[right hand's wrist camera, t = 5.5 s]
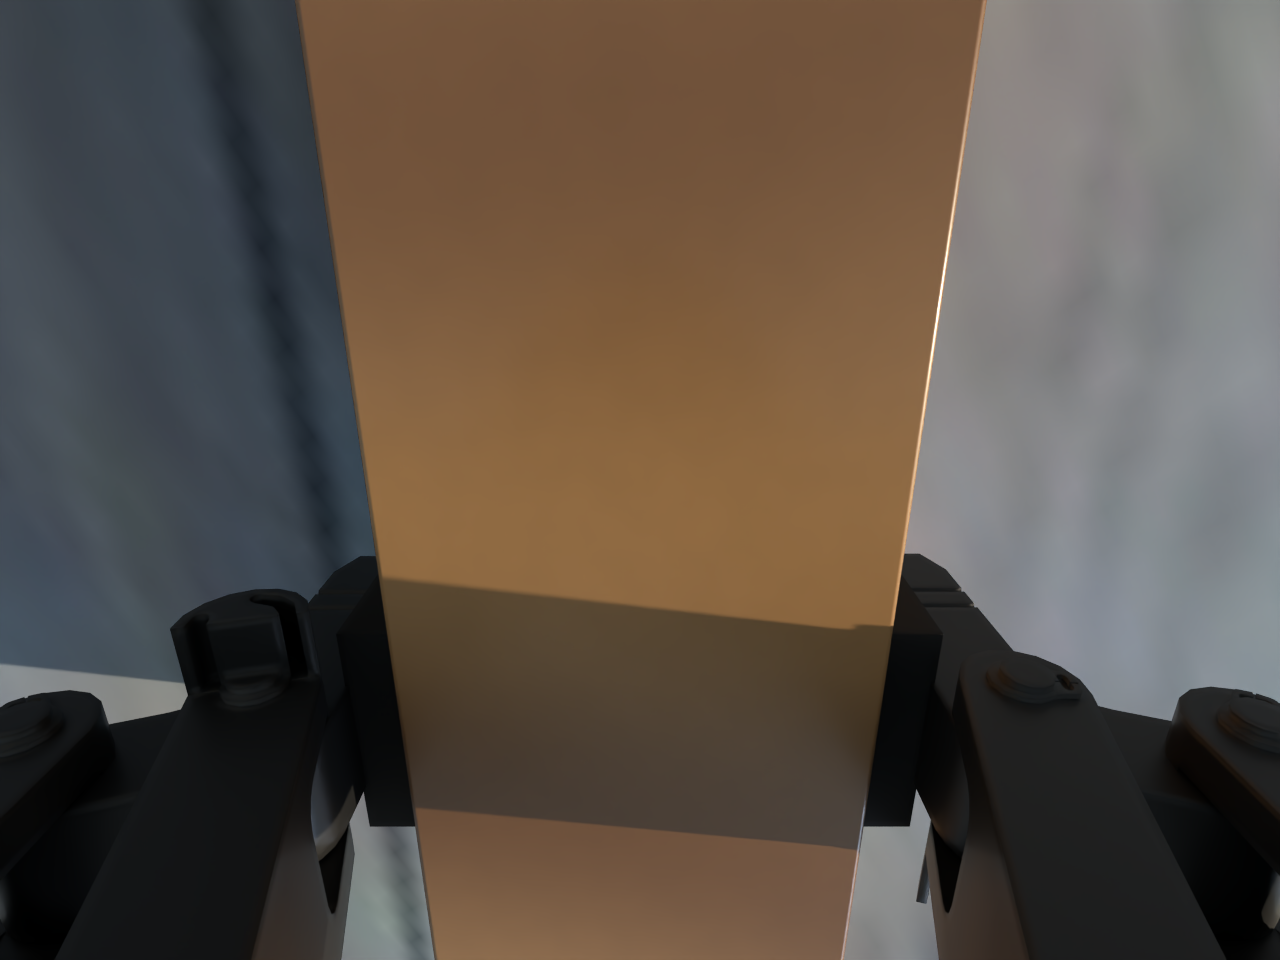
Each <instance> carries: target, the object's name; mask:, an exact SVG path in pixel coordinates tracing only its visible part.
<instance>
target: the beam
mask: <svg viewBox="0 0 1280 960" xmlns="http://www.w3.org/2000/svg"><path fill="white" fill-rule="evenodd" d="M986 2H987V0H295V5H296V11H297V18H298V25H299V32H300V39H301V46H302V53H303V59H304V66H305V73H306V80H307V87H308V94H309V101H310V107H311V114H312V121H313V128H314V135H315V142H316V149H317V155H318V162H319V169H320V176H321V183H322V190H323V197H324V204H325V210H326V217H327V224H328V231H329V238H330V245H331V252H332V258H333V265H334V272H335V279H336V286H337V293H338V300H339V306H340V313H341V320H342V327H343V334H344V341H345V348H346V354H347V361H348V368H349V375H350V382H351V389H352V396H353V402H354V409H355V416H356V423H357V430H358V437H359V444H360V450H361V457H362V464H363V471H364V478H365V485H366V492H367V498H368V505H369V512H370V519H371V526H372V533H373V540H374V547H375V553H376V560H377V567H378V574H379V581H380V588H381V595H382V601H383V608H384V615H385V622H386V629H387V636H388V643H389V649H390V656H391V663H392V670H393V677H394V684H395V691H396V697H397V704H398V711H399V718H400V725H401V732H402V739H403V745H404V752H405V759H406V766H407V773H408V780H409V787H410V793H411V800H412V807H413V814H414V821H415V828H416V835H417V842H418V848H419V855H420V862H421V869H422V876H423V883H424V890H425V896H426V903H427V910H428V917H429V924H430V931H431V938H432V944H433V951H434V958H435V960H844V953H845V946H846V940H847V933H848V926H849V920H850V913H851V906H852V900H853V893H854V886H855V879H856V873H857V866H858V859H859V853H860V846H861V839H862V833H863V826H864V819H865V812H866V806H867V799H868V792H869V786H870V779H871V772H872V766H873V759H874V752H875V746H876V739H877V732H878V725H879V719H880V712H881V705H882V699H883V692H884V685H885V679H886V672H887V665H888V658H889V652H890V645H891V638H892V632H893V625H894V618H895V612H896V605H897V598H898V591H899V585H900V578H901V571H902V565H903V558H904V551H905V545H906V538H907V531H908V524H909V518H910V511H911V504H912V498H913V491H914V484H915V478H916V471H917V464H918V457H919V451H920V444H921V437H922V431H923V424H924V417H925V411H926V404H927V397H928V390H929V384H930V377H931V370H932V364H933V357H934V350H935V344H936V337H937V330H938V323H939V317H940V310H941V303H942V297H943V290H944V283H945V277H946V270H947V263H948V256H949V250H950V243H951V236H952V230H953V223H954V216H955V210H956V203H957V196H958V189H959V183H960V176H961V169H962V163H963V156H964V149H965V143H966V136H967V129H968V122H969V116H970V109H971V102H972V96H973V89H974V82H975V76H976V69H977V62H978V55H979V49H980V42H981V35H982V29H983V22H984V15H985V9H986Z"/></svg>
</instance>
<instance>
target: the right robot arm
mask: <svg viewBox="0 0 1280 960" xmlns="http://www.w3.org/2000/svg"><path fill="white" fill-rule="evenodd" d="M170 631H171V634H172V638H173V642H174V645H175V649H176V653H177V656H178V660H179V664H180V667H181V671H182V675H183V679H184V682H185V686H186V690H187V693H188V697H187V698H186V700H185V702H184V704H183V706H182V708H181V710H177V711H173V712H169V713H165V714H160V715H155V716H150V717H144V718H139V719H134V720H129V721H124V722H119V723H114V724H108V721H107V718H106V714H105V711H104V708H103V705H102V702H101V701H100V700H99V699H98V698H96V697H95V696H94V695H92V694H91V693H87V692H79V691H72V690H67V691H59V692H50V693H40V694H35V695H31V696H28V698H24V697H23V698H20V699H17V700H14V701H11V702H8V703H6V704H5V705H3V706H2V707H0V960H341V957H342V949H343V942H344V934H345V926H346V918H347V910H348V902H349V894H350V887H351V879H352V871H353V863H354V855H355V853H354V846H353V839H352V834H351V828H350V823H349V822H350V819H351V817H352V815H353V813H354V811H355V809H356V807H357V804H358V802H359V800H360V798H361V796H362V794H363V792H364V796H365V801H366V807H367V813H368V818H369V824H370V826H415V821H414V814H413V807H412V800H411V793H410V787H409V780H408V773H407V766H406V759H405V752H404V745H403V739H402V732H401V725H400V718H399V711H398V704H397V697H396V691H395V684H394V677H393V670H392V663H391V656H390V649H389V643H388V636H387V629H386V622H385V615H384V608H383V601H382V595H381V588H380V581H379V574H378V567H377V560H376V556H360V557H358V558H357V559H355V560H353V561H352V562H350V563H348V564H347V565H345V566H343V567H342V568H340V569H338V570H337V571H335V572H334V573H333V574H332V575H331V576H330V578H329V579H328V580H327V581H326V583H325V584H324V585H323V586H322V587H321V589H320V590H319V594H316V595H315V596H314V597H313V598H312V599H311V601H310V602H309V603H308V601H307V600H306V599H305V598H303V597H302V596H301V595H299V594H298V593H296V592H292V591H287V590H282V589H255V590H250V591H245V592H240V593H235V594H229V595H227V596H224V597H221V598H218V599H215V600H213V601H210V602H207V603H204V604H202V605H201V606H199V607H197V608H195V609H194V610H192V611H190V612H188V613H187V614H185V615H183V616H182V617H181V618H180V619H179V620H178V621H177V622H176V623H175V624H174V625H173V626H172V627H171V628H170ZM916 789H917V791H918V793H919V795H920V797H921V800H922V802H923V804H924V806H925V808H926V810H927V812H928V814H929V817H930V819H931V823H930V828H929V833H928V839H927V844H926V849H925V855H924V860H923V865H922V870H921V876H920V881H919V887H918V894H917V901H916V902H921V903H925V904H926V903H927V898H928V893H929V888H930V893H931V900H932V908H933V916H934V924H935V932H936V940H937V948H938V955H939V960H1280V703H1278V702H1277V701H1275V700H1274V699H1271V698H1269V697H1265V696H1262V695H1259V694H1256V695H1254V694H1253V693H1252V692H1248V691H1243V690H1238V689H1226V688H1217V687H1205V688H1198V689H1190V690H1189V691H1188V692H1186V693H1185V694H1184V695H1182V696H1181V697H1180V698H1179V700H1178V703H1177V706H1176V710H1175V713H1174V716H1173V719H1172V721H1168V720H1163V719H1158V718H1152V717H1147V716H1142V715H1137V714H1132V713H1127V712H1122V711H1117V710H1112V709H1108V708H1104V707H1100V706H1098V705H1097V703H1096V701H1095V699H1094V697H1093V695H1092V694H1091V693H1090V691H1089V690H1088V689H1087V688H1086V686H1085V685H1084V684H1083V683H1082V682H1081V680H1080V679H1078V678H1077V677H1075V676H1074V675H1072V674H1071V673H1069V672H1068V671H1066V670H1065V669H1063V668H1062V667H1060V666H1058V665H1056V664H1053V663H1051V662H1049V661H1046V660H1044V659H1042V658H1039V657H1037V656H1033V655H1028V654H1024V653H1020V652H1015V651H1013V650H1012V649H1011V647H1010V646H1009V645H1008V644H1007V643H1006V641H1005V640H1004V639H1003V638H1002V637H1001V635H1000V634H999V633H998V632H997V631H996V629H995V628H994V627H993V626H992V625H991V623H990V622H989V621H988V620H987V619H986V617H985V616H984V615H983V614H982V612H981V611H980V610H979V609H978V608H977V607H974V603H973V602H972V600H971V599H970V598H969V597H968V596H967V594H966V593H965V592H961V587H960V586H959V585H958V584H957V582H956V581H955V580H954V579H953V578H952V576H951V575H950V574H949V573H948V572H947V570H946V569H944V568H942V567H941V566H939V565H937V564H936V563H934V562H932V561H931V560H929V559H927V558H926V557H924V556H922V555H921V554H904V558H903V565H902V571H901V578H900V585H899V591H898V598H897V605H896V612H895V618H894V625H893V632H892V638H891V645H890V652H889V658H888V665H887V672H886V679H885V685H884V692H883V699H882V705H881V712H880V719H879V725H878V732H877V739H876V746H875V752H874V759H873V766H872V772H871V779H870V786H869V792H868V799H867V806H866V812H865V819H864V826H910V821H911V816H912V810H913V804H914V799H915V793H916Z"/></svg>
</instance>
